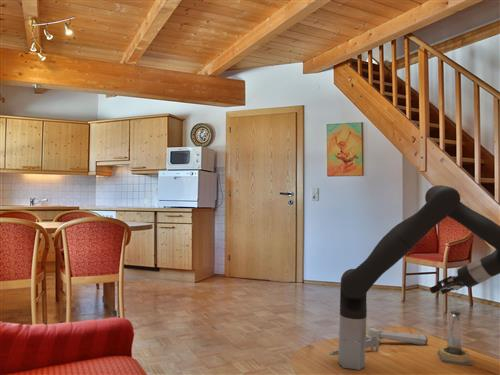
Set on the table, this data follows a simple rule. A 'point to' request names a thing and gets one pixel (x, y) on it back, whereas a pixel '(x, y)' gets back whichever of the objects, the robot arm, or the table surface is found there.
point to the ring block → (454, 357)
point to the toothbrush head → (397, 336)
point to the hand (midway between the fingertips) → (436, 291)
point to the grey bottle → (455, 333)
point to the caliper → (368, 343)
